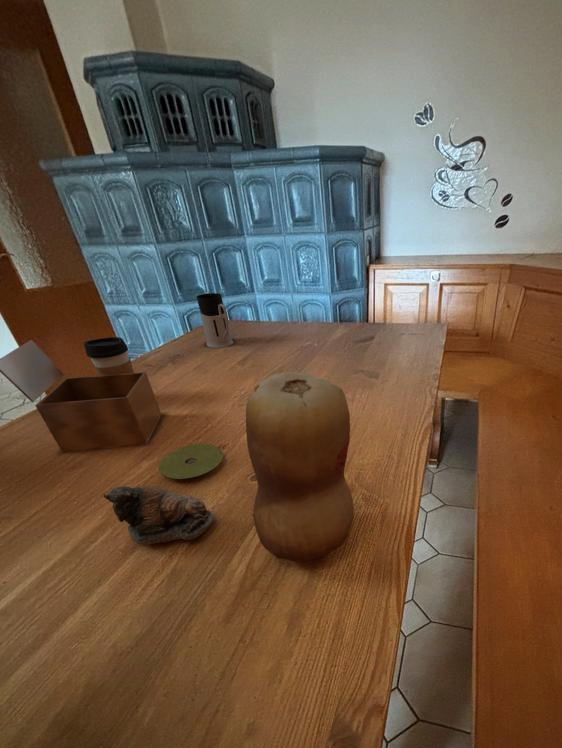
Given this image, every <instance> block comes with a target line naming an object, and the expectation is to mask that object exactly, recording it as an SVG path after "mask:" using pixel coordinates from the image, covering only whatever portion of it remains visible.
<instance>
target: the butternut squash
mask: <svg viewBox="0 0 562 748" xmlns="http://www.w3.org/2000/svg"><path fill="white" fill-rule="evenodd" d="M350 413H351V412H350V410H349V404H348V402H347V398H346V395H345V392H344V390H343V389H342V388H341V387H340V386H338V385H335V384H333V383H332V382H330V380H327V379H325V378H322V377H318V376H315V375H312V374H309V373H305V372H295V371H286V372H279V373H276V374H274V375H273V376H270V377H267V378H265V379H263V380H261V381H260V382H259V383H257V384H256V385H255V387H254V388H253V389H252V391H251V392H250V394H249V396H248V398H247V402H246V406H245V433H246V434H245V435H246V445H247V451H248V457H249V459H250V462H251V465H252V468H253V469H252V470H253V472H254V476H255V479H256V483H257V491H256V495H255V498H254V505H253V513H252V517H253V523H254V528H255V530H256V533H257V536H258V539H259V542H260V544H261V545H262V547H263V548H264V549H265V550H267V552H269V553H270V554H272V555H273V556H274V557H275V558H277V559H279V560H287V561H290V562H307V561H311V560H314V559H319V558H323V557H324V556H326V555H329V554H330V553H332V552H334V551H336V550H337V549H338V548H340V547H341V546H342V545H343V544H344V542H345V541H346V540H347V538H348V536H349V534H350V529H351V527H352V524H353V519H354V511H355V509H354V501H353V496H352V491H351V488H350V487H349V484H348V482H347V480H346V477H345V468H346V463H347V458H348V453H349V446H350V439H351V436H350V434H351V418H350V417H351V416H350V415H351V414H350Z"/></svg>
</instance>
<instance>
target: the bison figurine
mask: <svg viewBox="0 0 562 748" xmlns="http://www.w3.org/2000/svg"><path fill="white" fill-rule="evenodd" d="M102 497H103V498H104V499H106V500H108V501H109V502H110V503H112V510H113V513H114V514H115V515H116V518H117V519H118V521H119V522H120V523H124V522H125V523H127V524H128V527H127V530H128V535H129V537H130V538H131V540H132V541H133V542H134V543H137V544H138V545H141V546H149V545H153V544H154V545H155V544H160V543H168V542H171V541H174V540H185V541H189V540H190V541H191V540H196V539H197V538H198V537H200V536H201V535H202V534H203V533H205V531H206V530H207V529H208V528H209V527H211V525H212V523H213V520H214V516H213V514H212V513H213V512H212V511H210V510H208V509H207V507H206V505H205V502H203V501H202V500H200V498H197V497H195V496H192V495H189V494H180V493H177V492H173V491H169V490H167V489H165V488H161V487H159V486H154V485H144V484H142V485H137V486H135V487H131V486H125V485H123V486H122V485H121V486H117V487H114V488H113V489H111V490H110V491H109V492H108V493H107V494H104V493H103V494H102Z"/></svg>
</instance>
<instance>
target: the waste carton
mask: <svg viewBox="0 0 562 748" xmlns="http://www.w3.org/2000/svg"><path fill="white" fill-rule="evenodd" d="M34 406H35V408H36V410H37V411H38V413H39V415H40V416H41V418H42V420H43V422H44V423H45V425H46V427H47V429H48V430H49V432H50V434H51V435H52V438H53V439H54V441H55V443H56V444H57V446H58V447H59V449H60V451H61V453H72V452H81V451H93V450H103V449H112V448H124V447H132V446H143V445H147V444H148V443H149V441H150V439H151V437H152V435H153V433H154V431H155V429H156V427H157V425H158V423H159V421H160V419H161V417H162V412H161V410H160V407H159V404H158V401H157V399H156V396H155V393H154V391H153V388H152V385H151V382H150V380H149V377H148V374H147V372H146V371H144V372H143V371H142V372H141V371H140V372H134V373H127V374H114V375H100V376H99V375H89V376H76V377H75V376H74V377H65V378H63V379H62V380H61V381H60V382H59V383H58V384H57V385H56V386H55V387H54V388H53V389H51V390H50V391H49V392H48V393H47V394H46V395H45V396H44V397H43V398H41V399H40V400H39V401H38V402H37V403H36V404H35V405H34Z"/></svg>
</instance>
